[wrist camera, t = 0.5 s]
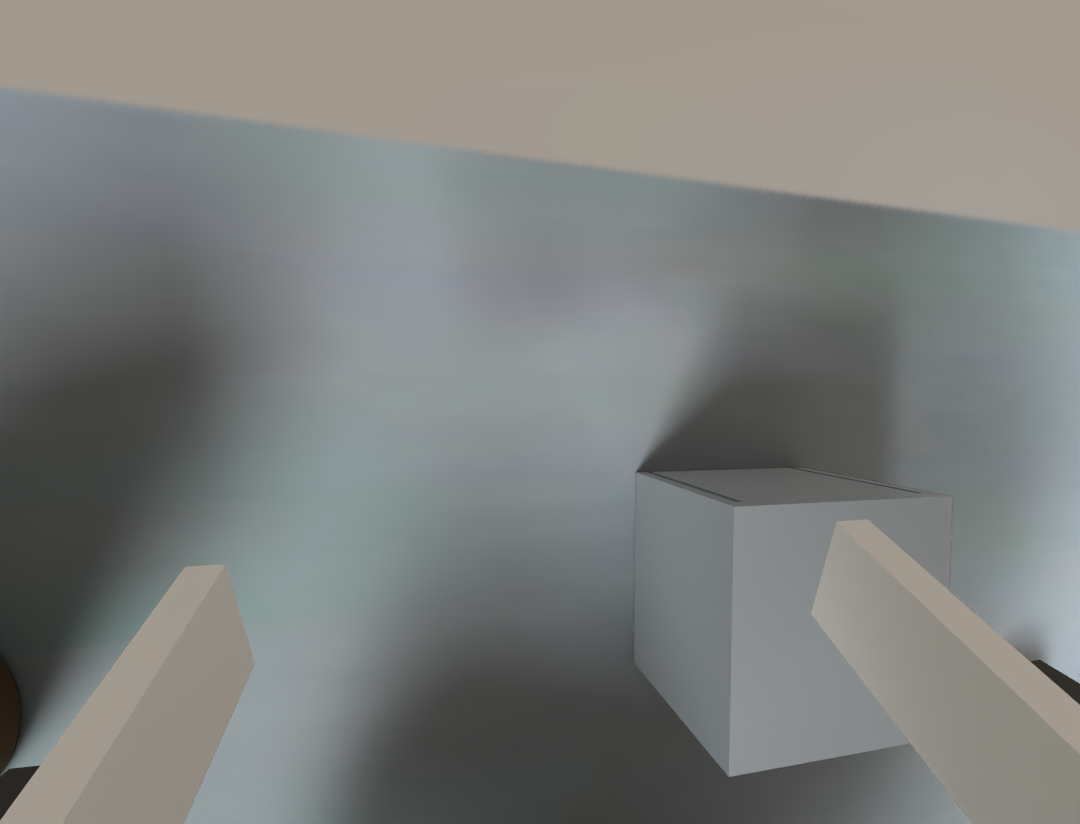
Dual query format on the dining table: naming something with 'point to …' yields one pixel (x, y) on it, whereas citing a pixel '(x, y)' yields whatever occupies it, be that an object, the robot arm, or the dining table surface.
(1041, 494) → the dining table surface
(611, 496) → the dining table surface
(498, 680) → the dining table surface
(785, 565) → the grey rectangular prism
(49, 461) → the dining table surface
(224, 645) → the robot arm
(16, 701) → the olive oil
